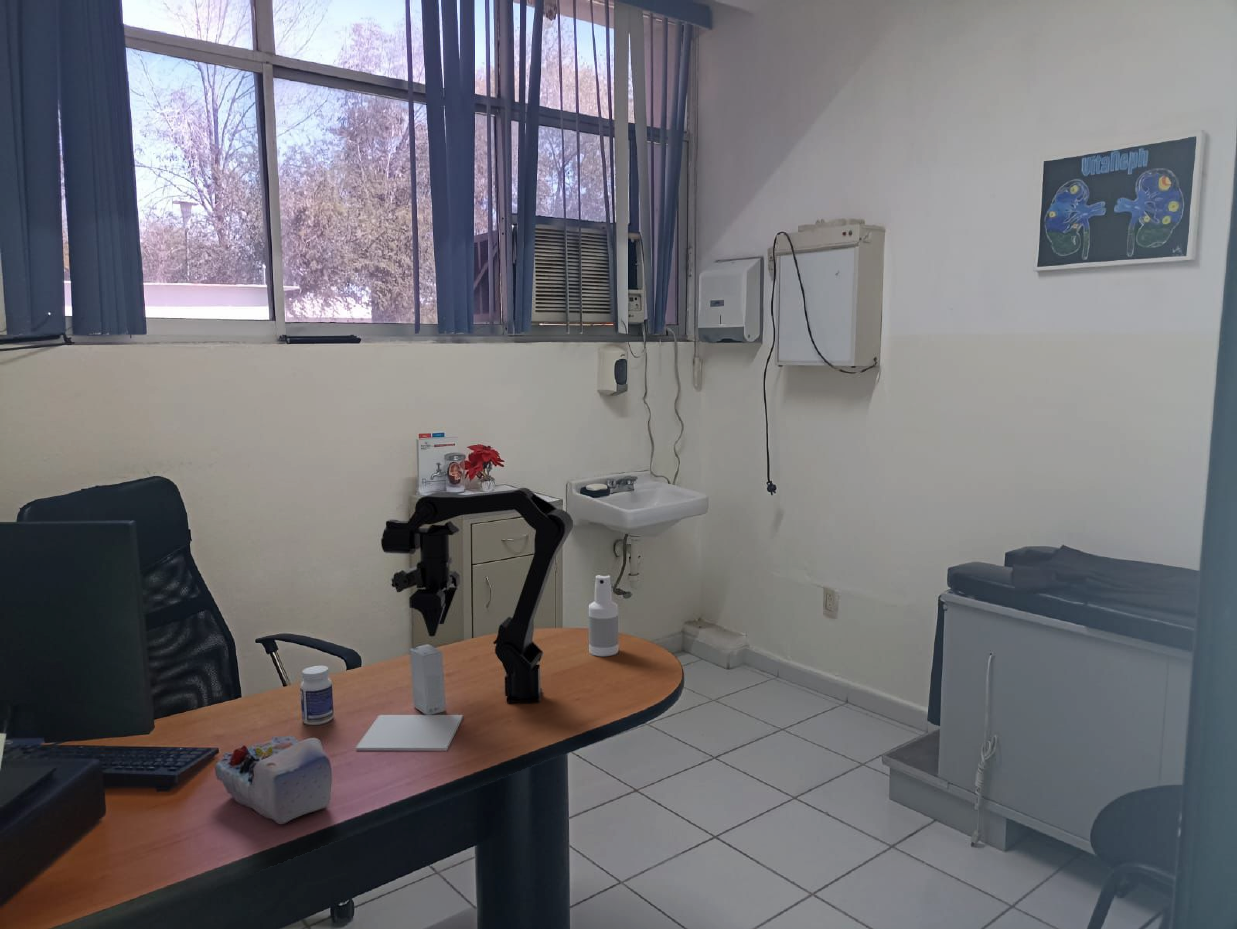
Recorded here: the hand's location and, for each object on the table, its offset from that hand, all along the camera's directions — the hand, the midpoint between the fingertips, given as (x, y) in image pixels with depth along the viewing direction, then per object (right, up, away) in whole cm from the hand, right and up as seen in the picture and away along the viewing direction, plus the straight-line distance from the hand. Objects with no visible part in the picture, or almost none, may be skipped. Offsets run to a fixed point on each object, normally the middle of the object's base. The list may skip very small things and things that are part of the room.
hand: (436, 630), depth 177 cm
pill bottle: (-20, -15, -12) cm, 28 cm away
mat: (-1, -16, -18) cm, 24 cm away
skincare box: (0, -14, -7) cm, 16 cm away
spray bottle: (+34, -10, +25) cm, 43 cm away
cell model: (-16, -19, -42) cm, 48 cm away
